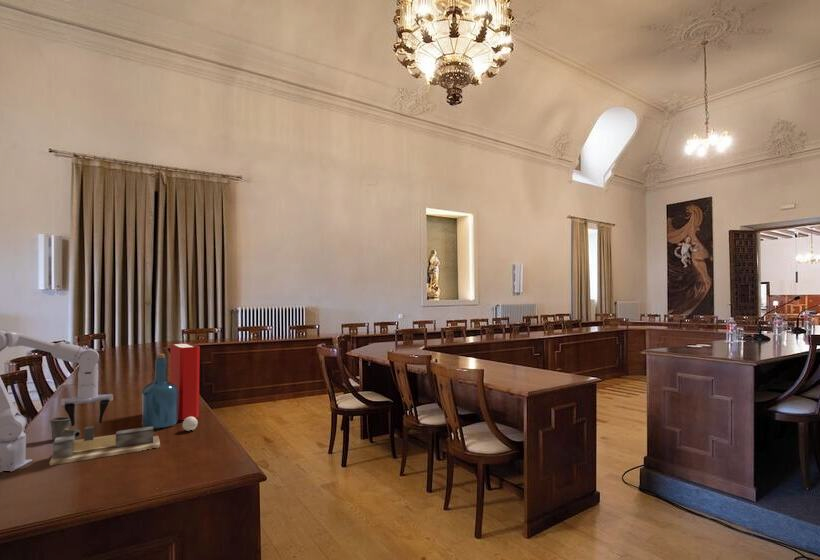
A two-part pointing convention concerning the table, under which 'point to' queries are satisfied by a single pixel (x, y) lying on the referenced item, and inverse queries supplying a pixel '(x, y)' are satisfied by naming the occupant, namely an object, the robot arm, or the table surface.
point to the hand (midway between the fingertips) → (87, 423)
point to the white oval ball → (190, 423)
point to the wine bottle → (160, 399)
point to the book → (186, 377)
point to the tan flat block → (93, 440)
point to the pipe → (63, 428)
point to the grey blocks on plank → (124, 444)
